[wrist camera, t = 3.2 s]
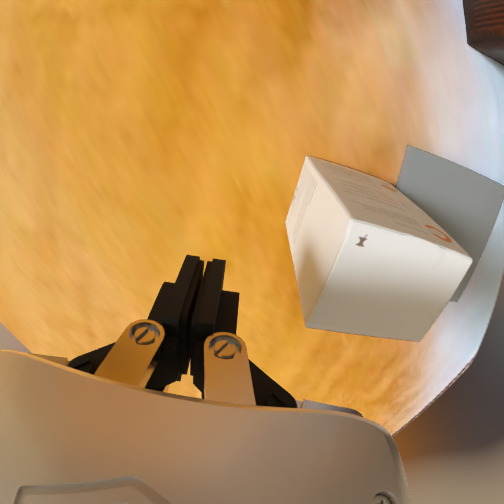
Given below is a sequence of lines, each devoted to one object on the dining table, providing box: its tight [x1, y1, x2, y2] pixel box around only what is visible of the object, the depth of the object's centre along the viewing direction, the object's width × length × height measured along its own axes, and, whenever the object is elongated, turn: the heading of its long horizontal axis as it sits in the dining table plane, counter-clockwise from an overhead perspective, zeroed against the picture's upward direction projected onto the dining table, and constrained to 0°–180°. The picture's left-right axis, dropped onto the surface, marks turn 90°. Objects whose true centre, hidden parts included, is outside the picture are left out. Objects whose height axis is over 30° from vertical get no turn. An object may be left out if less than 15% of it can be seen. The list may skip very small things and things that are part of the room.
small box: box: [285, 156, 473, 342], centre depth 19 cm, size 8×6×13 cm
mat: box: [396, 145, 504, 302], centre depth 25 cm, size 15×14×1 cm
